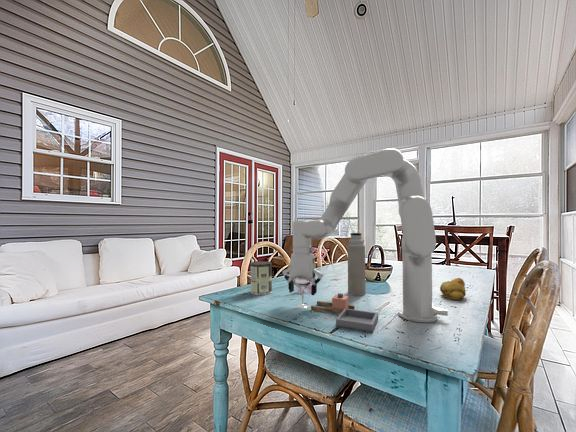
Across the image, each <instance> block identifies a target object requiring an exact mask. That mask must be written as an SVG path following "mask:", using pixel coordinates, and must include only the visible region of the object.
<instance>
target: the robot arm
mask: <svg viewBox="0 0 576 432" xmlns="http://www.w3.org/2000/svg"><path fill="white" fill-rule="evenodd" d="M381 176H385V177H387V178H388V177H389V178H391V179H392V180H393V182H394V185H395V189H396V190H395V191H396V194H397V201H398V204H397V205H398V214H399V217H400V222H401V229H402V237H401V257H402V259H401V260H402V308H400V309H399V310H398V315H399V317H401V318H402V319H404V320H406V321H407V320H408V321H410V322H415V323H433V322H436V321H437V320H438V315H441V316H444V317H448V316H449V315H448V309H444V308H443V307H442V308H441V307H436V306H435V305H434V303H433V260H432V257H433V256H432V254H433V253H434V251H435V249H436V245H437V238H436V229H435V224H434V217H433V210H432V207H431V204H430V203H429V201H428V200H427V199H426V198H425V195H424V190H423V185H422V180H421V176H420V173H419V171H418V169H417V168H416V166H414V164H412V163H411V162H410V161H408V160H407V159H404V155H403V154H402V152H401V151H400V150H398V149H396V148H394V147H393V148H390V147H389V148H385V149H381V150H378V151H377V150H376V151H374V152H371V153H370V152H369V153H367V154H365V155H360V156H358V157H354V158H352V159H350V160H349V161H348V162H347V163H346V165H345V167H344V174H343V175H342V176H341V178H340V180H339V181H338V183H337V185H336V186H335V187H334V189H333V190H332V191H331V194H330V197H329V203H328V205H327V207H326V208H325V211H324V212H323V214H322V215H321V217H320V218H319V219H315V220H314V219H313V220H307V219H297V220H296V219H295V220H294V221H293V222H292V253H291V255H290V261H289V267H288V268H286V269H284V270H282V274H283V276H284V279H285V280H286V281H287V282H286V283H288V286H287V287H288V290H289V291H288V292H289V293H293V292H294V291H295V285H294V281H293V280H294V279H295V277H300V278H305V277H306V280H310V281H311V283H312V284H311V293H310V294H311V295H312V296H315V295H316V294H317V292H318V289H317V287H318V284H319V282H321V280H322V278H323V277H324V274H323V273H322V272H321V271H319V270H318V269H316V267H317V266H316V259H315V254H314V253H313V252H315V251H316V249H315V248H313V246H312V239H314V240H315V239H316V240H323V239H325V238H328V237H329V236H330V235H331V234H332V233H333V232H334V230H335V229H336V227H337V226H338V225H339V223H340V222H341V220H342V218H343V217H344V215H345V214H346V213H347V211H348V210H349V208H350V206H351V204H353V202H354V201H355V198H356V197H357V195H359V193H360V192H361V190H362V189H363V187H364V186H365V185H366V183H367V182H368V180H370V179H373V178H377V177H381ZM316 277H317V278H316Z"/></svg>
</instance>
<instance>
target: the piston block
mask: <svg viewBox="0 0 576 432" xmlns="http://www.w3.org/2000/svg"><path fill="white" fill-rule="evenodd" d="M331 303H332V307H331V308H334V309H342V310H344V309H349V305H350V303H349V295H344V293H341V292H338V293H337V294H335V295H334V296H333V297H332V298H331Z"/></svg>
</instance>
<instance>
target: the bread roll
mask: <svg viewBox="0 0 576 432" xmlns="http://www.w3.org/2000/svg"><path fill="white" fill-rule="evenodd" d="M465 286H466V283H465V281H464V279H463V278H460V277H458V278H453V279H451V280H448V281H443V282H441V284H440V287H439V291H440V292H441V294H442V296H443V297H445V298H449V299H451V300H454V301H462V300H463V299H464V297H466V293H467V292H466V287H465Z"/></svg>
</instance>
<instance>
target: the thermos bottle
mask: <svg viewBox="0 0 576 432" xmlns="http://www.w3.org/2000/svg"><path fill="white" fill-rule="evenodd" d="M362 238H363V237H362V233H361V232H351V233H350V239H348V244H347V294H349V295H352V296H364V295H366V294H367V293H366V291H367V290H366V245H365V244H364V240H363V239H362Z"/></svg>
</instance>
